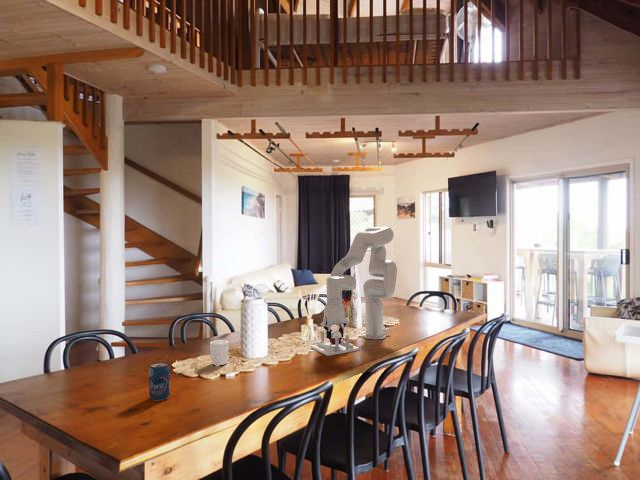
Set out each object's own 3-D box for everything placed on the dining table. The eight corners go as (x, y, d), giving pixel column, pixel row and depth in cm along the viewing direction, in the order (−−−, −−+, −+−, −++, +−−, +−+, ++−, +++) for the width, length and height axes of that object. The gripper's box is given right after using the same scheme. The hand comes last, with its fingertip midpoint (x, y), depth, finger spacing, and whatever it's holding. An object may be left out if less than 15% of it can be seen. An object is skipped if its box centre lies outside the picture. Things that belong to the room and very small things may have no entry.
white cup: (207, 364, 195) (206, 342, 195) (222, 360, 201) (221, 338, 200) (217, 368, 189) (216, 345, 189) (232, 363, 195) (231, 341, 195)
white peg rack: (341, 342, 228) (341, 327, 228) (359, 350, 214) (359, 333, 214) (311, 348, 219) (311, 331, 219) (327, 355, 205) (327, 338, 205)
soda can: (149, 403, 152) (149, 368, 152) (149, 396, 158) (148, 363, 158) (170, 399, 155) (170, 365, 155) (169, 393, 161) (168, 360, 161)
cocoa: (345, 345, 215) (346, 321, 215) (336, 347, 211) (337, 322, 211) (332, 340, 222) (333, 317, 222) (323, 342, 218) (324, 318, 218)
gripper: (345, 298, 224) (345, 333, 224) (315, 302, 215) (316, 338, 216) (353, 300, 217) (353, 336, 218) (323, 304, 209) (323, 341, 209)
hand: (335, 337), depth 217 cm, fingers closed on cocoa, 6 cm apart
